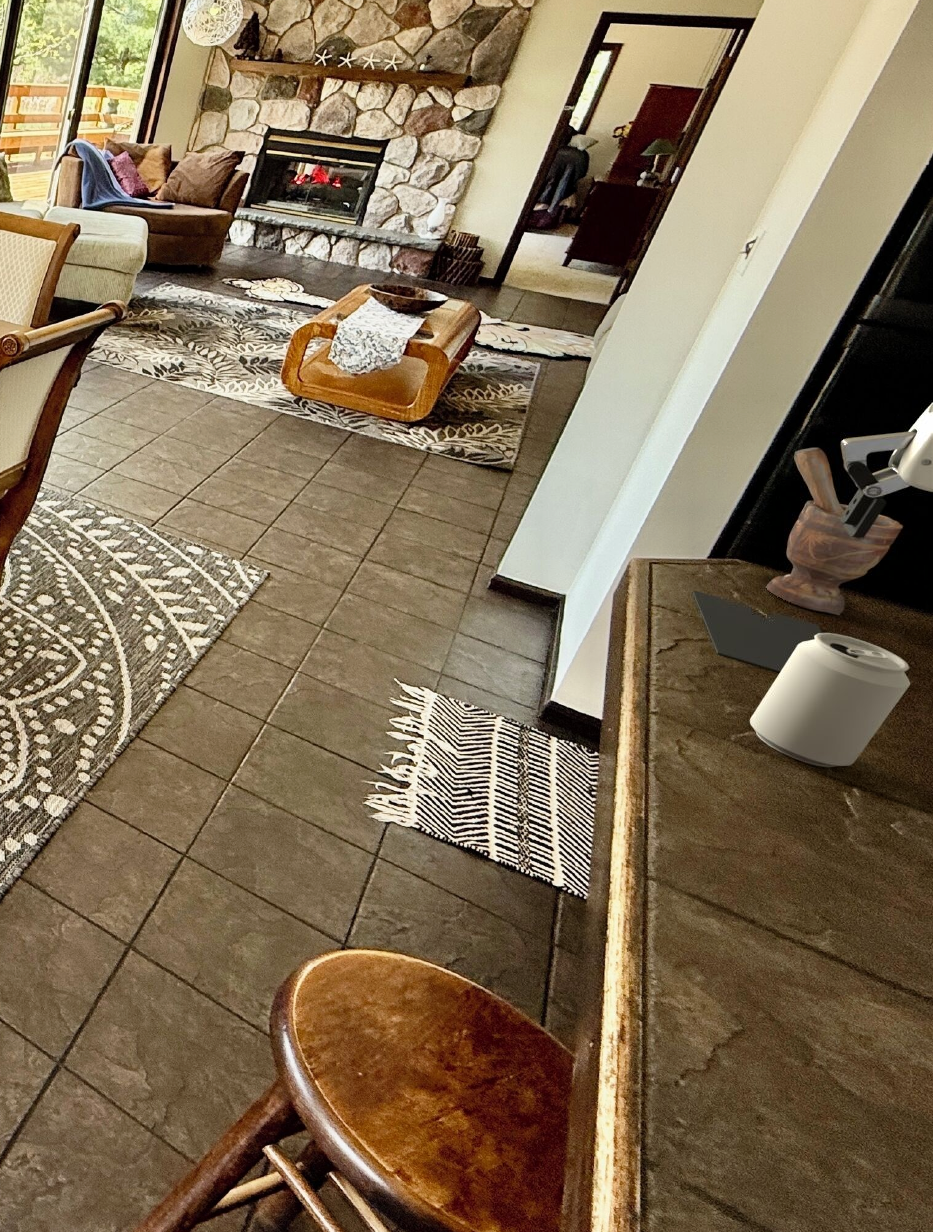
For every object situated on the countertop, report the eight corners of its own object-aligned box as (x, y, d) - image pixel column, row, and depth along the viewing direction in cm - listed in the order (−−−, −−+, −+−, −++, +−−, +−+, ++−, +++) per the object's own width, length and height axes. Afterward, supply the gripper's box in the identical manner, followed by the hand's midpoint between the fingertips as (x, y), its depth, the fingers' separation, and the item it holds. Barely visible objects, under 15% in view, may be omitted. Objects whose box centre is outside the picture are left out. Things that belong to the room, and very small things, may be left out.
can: (737, 713, 98) (797, 618, 93) (835, 744, 94) (903, 647, 89) (755, 749, 92) (820, 650, 87) (861, 784, 88) (935, 682, 83)
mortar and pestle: (731, 590, 125) (810, 456, 117) (722, 568, 131) (796, 440, 123) (853, 624, 118) (945, 484, 110) (837, 599, 125) (923, 466, 117)
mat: (816, 625, 117) (817, 624, 117) (861, 697, 103) (862, 696, 102) (691, 591, 124) (692, 589, 124) (717, 653, 109) (718, 652, 109)
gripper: (915, 357, 79) (805, 532, 86) (1248, 412, 69) (1094, 603, 76) (888, 342, 84) (786, 507, 91) (1192, 391, 75) (1054, 571, 82)
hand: (927, 551), depth 84 cm, fingers open, 9 cm apart
